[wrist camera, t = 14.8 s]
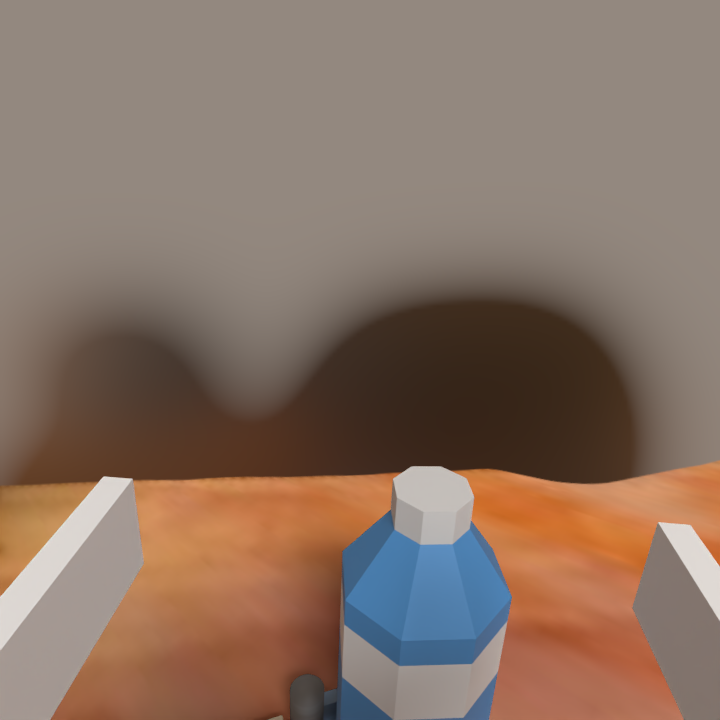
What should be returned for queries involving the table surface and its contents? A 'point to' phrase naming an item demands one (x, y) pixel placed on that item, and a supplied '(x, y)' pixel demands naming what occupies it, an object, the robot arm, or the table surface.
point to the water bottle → (421, 608)
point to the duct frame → (311, 700)
